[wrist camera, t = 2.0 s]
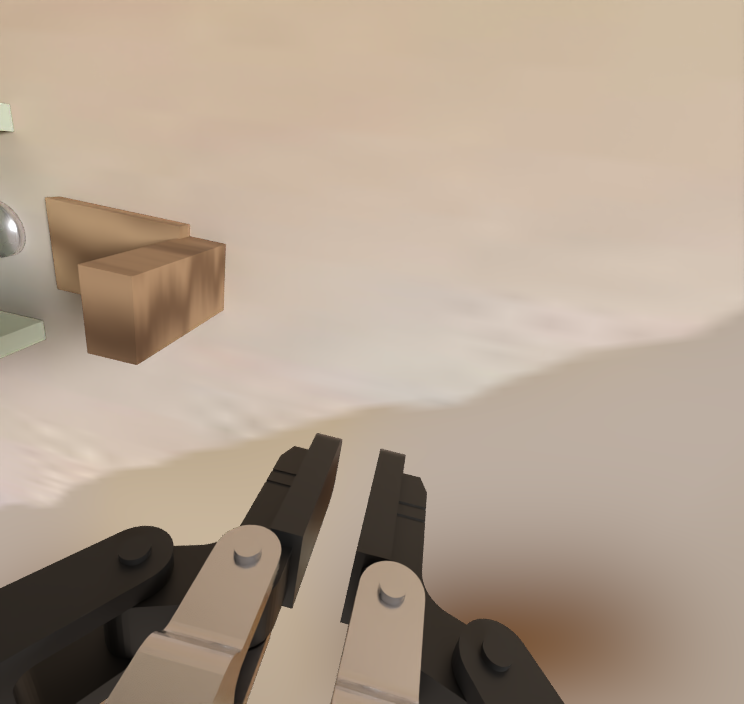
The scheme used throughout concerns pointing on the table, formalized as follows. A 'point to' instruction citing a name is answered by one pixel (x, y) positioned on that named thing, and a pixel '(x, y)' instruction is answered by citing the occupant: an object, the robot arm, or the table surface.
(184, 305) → the brown wooden block
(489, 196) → the table surface
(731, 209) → the table surface
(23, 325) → the pale green bench
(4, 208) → the disc
